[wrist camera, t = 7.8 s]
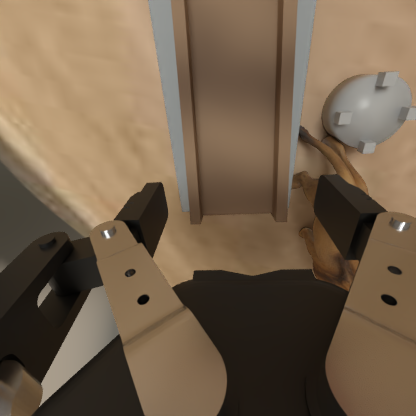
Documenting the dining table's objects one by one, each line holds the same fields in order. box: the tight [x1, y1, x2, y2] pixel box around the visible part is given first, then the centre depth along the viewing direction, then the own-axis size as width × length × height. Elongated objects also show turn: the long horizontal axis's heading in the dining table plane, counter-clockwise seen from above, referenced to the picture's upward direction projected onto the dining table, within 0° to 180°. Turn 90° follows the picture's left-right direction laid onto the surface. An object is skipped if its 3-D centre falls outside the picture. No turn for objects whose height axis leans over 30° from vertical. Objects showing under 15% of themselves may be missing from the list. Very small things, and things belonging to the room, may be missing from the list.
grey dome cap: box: [322, 71, 416, 154], centre depth 15 cm, size 5×5×3 cm
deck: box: [148, 0, 316, 212], centre depth 14 cm, size 21×9×2 cm, turn 4°
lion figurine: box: [291, 126, 369, 291], centre depth 17 cm, size 15×5×9 cm, turn 27°
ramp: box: [171, 0, 298, 224], centre depth 12 cm, size 14×6×5 cm, turn 4°
